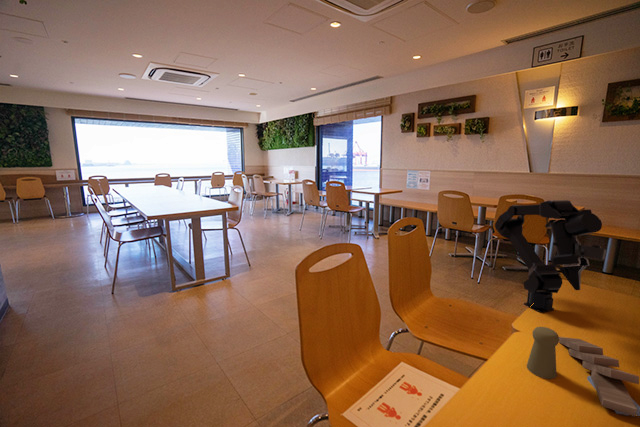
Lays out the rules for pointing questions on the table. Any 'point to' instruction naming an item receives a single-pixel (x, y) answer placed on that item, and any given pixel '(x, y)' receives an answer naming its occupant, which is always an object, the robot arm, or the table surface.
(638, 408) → the slate end tile
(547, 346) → the pepper shaker
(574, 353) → the walnut tile
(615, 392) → the walnut tile
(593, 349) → the walnut tile
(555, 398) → the table surface
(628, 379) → the walnut tile
